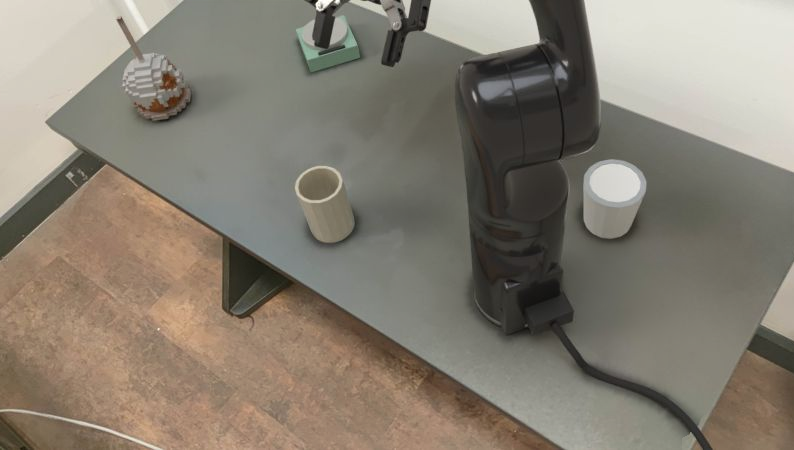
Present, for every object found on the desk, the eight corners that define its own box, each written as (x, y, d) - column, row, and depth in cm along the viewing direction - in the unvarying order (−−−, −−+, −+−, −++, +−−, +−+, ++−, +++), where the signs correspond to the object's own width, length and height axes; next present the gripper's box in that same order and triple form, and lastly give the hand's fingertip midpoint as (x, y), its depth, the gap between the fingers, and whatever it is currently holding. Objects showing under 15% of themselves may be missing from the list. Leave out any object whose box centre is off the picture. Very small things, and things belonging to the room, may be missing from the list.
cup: (359, 234, 84) (347, 193, 78) (316, 248, 84) (301, 209, 77) (348, 201, 88) (335, 160, 81) (306, 215, 87) (290, 174, 80)
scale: (360, 57, 103) (356, 40, 101) (310, 72, 102) (305, 55, 100) (347, 27, 108) (343, 10, 105) (299, 41, 107) (294, 24, 104)
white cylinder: (602, 187, 86) (608, 149, 80) (649, 217, 82) (659, 179, 77) (566, 220, 83) (570, 184, 77) (613, 253, 80) (621, 217, 74)
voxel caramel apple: (189, 118, 99) (145, 33, 87) (134, 126, 99) (82, 41, 87) (194, 80, 103) (152, -6, 91) (142, 88, 103) (93, 3, 91)
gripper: (311, -118, 73) (281, 38, 76) (435, -96, 68) (396, 69, 72) (346, -97, 80) (316, 46, 83) (460, -75, 75) (423, 74, 79)
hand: (353, 56), depth 78 cm, fingers open, 8 cm apart
